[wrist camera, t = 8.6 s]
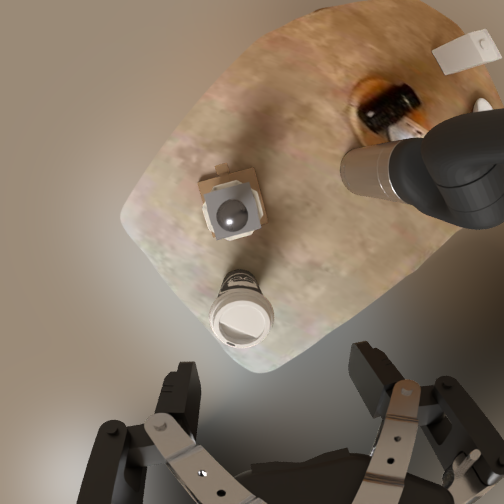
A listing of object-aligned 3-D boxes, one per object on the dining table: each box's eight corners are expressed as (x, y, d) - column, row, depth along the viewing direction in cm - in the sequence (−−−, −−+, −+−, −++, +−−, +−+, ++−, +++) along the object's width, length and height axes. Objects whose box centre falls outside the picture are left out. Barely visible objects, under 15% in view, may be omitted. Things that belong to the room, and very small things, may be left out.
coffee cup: (204, 282, 51) (193, 321, 37) (242, 251, 50) (246, 280, 35) (236, 316, 53) (238, 362, 39) (274, 288, 52) (289, 327, 38)
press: (251, 160, 46) (259, 152, 32) (267, 221, 49) (281, 239, 35) (196, 176, 46) (180, 174, 32) (213, 236, 49) (205, 259, 35)
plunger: (244, 185, 41) (248, 188, 28) (251, 215, 42) (259, 231, 29) (214, 194, 41) (204, 200, 28) (222, 223, 42) (216, 243, 29)
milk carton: (445, 48, 39) (491, 29, 21) (458, 72, 41) (507, 57, 23) (430, 51, 40) (479, 28, 21) (444, 75, 42) (496, 58, 23)
